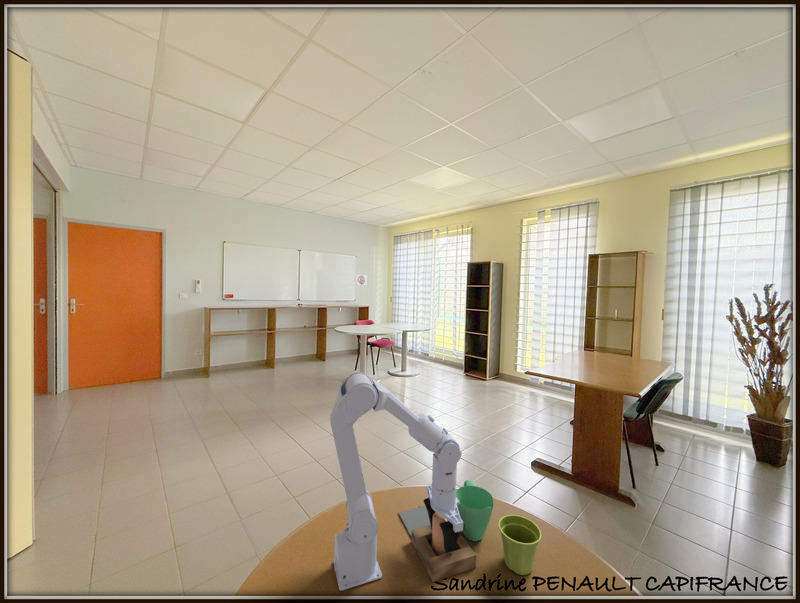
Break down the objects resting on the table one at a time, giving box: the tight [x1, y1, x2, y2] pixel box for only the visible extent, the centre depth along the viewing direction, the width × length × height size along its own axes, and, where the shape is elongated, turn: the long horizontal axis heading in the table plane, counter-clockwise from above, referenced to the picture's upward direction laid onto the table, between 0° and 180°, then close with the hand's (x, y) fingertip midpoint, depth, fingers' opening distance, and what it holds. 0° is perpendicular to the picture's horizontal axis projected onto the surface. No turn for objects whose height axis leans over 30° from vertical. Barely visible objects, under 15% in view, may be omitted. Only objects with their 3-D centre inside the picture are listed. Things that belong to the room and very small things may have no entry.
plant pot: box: [497, 514, 542, 576], centre depth 76 cm, size 9×9×9 cm
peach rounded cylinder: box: [431, 512, 453, 557], centre depth 78 cm, size 5×5×9 cm
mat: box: [398, 505, 430, 537], centre depth 89 cm, size 10×10×1 cm
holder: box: [410, 525, 477, 583], centre depth 78 cm, size 11×12×3 cm
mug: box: [456, 479, 495, 542], centre depth 87 cm, size 15×10×10 cm
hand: (442, 539), depth 78 cm, fingers open, 6 cm apart
